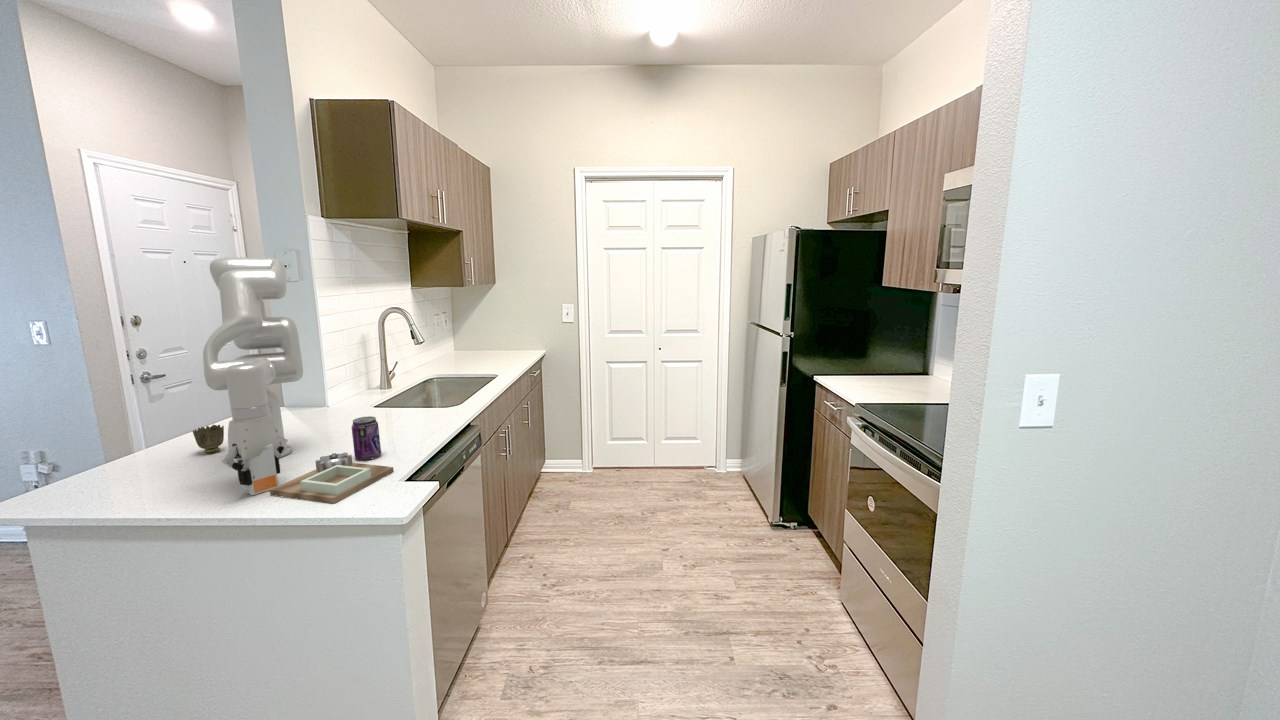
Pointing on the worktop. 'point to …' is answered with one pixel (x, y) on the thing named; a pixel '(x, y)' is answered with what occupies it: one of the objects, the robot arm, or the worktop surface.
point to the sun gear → (333, 461)
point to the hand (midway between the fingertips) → (260, 478)
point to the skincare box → (262, 472)
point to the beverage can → (366, 438)
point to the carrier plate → (294, 485)
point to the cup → (209, 438)
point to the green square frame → (320, 486)
